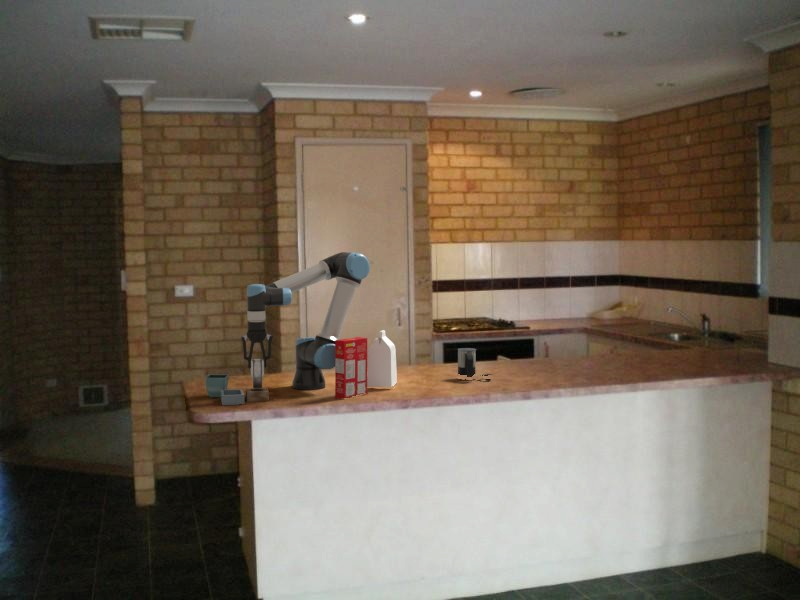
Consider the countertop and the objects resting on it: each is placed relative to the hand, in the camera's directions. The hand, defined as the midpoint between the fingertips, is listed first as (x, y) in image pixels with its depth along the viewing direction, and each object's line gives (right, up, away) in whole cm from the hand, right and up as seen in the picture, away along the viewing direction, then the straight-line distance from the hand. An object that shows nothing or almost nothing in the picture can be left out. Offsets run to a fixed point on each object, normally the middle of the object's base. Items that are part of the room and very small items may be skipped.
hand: (257, 375), depth 360 cm
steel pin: (0, -5, 0) cm, 5 cm away
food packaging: (+39, -10, +9) cm, 42 cm away
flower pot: (-18, -10, +6) cm, 22 cm away
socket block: (0, -10, +1) cm, 10 cm away
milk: (+52, -8, +31) cm, 61 cm away
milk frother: (+97, -7, +52) cm, 110 cm away
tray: (-10, -11, -5) cm, 15 cm away
